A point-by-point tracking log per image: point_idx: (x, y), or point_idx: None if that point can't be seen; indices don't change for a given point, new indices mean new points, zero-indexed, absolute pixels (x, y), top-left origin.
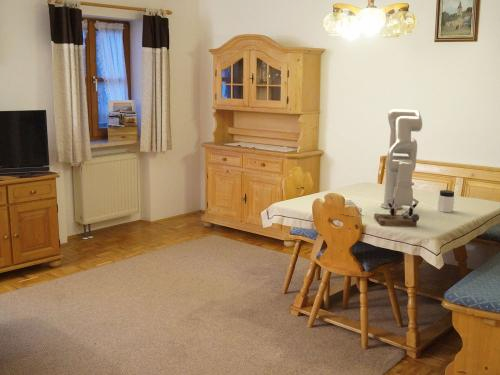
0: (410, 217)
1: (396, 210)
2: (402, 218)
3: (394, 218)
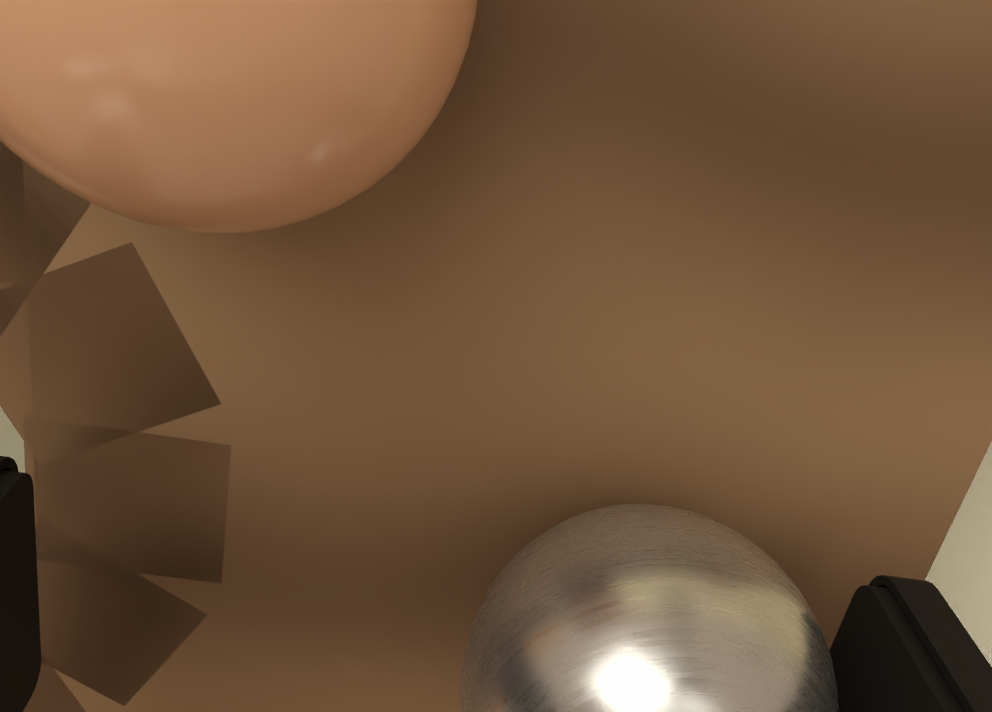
0: (912, 501)
1: (369, 173)
2: (465, 626)
3: (119, 615)
